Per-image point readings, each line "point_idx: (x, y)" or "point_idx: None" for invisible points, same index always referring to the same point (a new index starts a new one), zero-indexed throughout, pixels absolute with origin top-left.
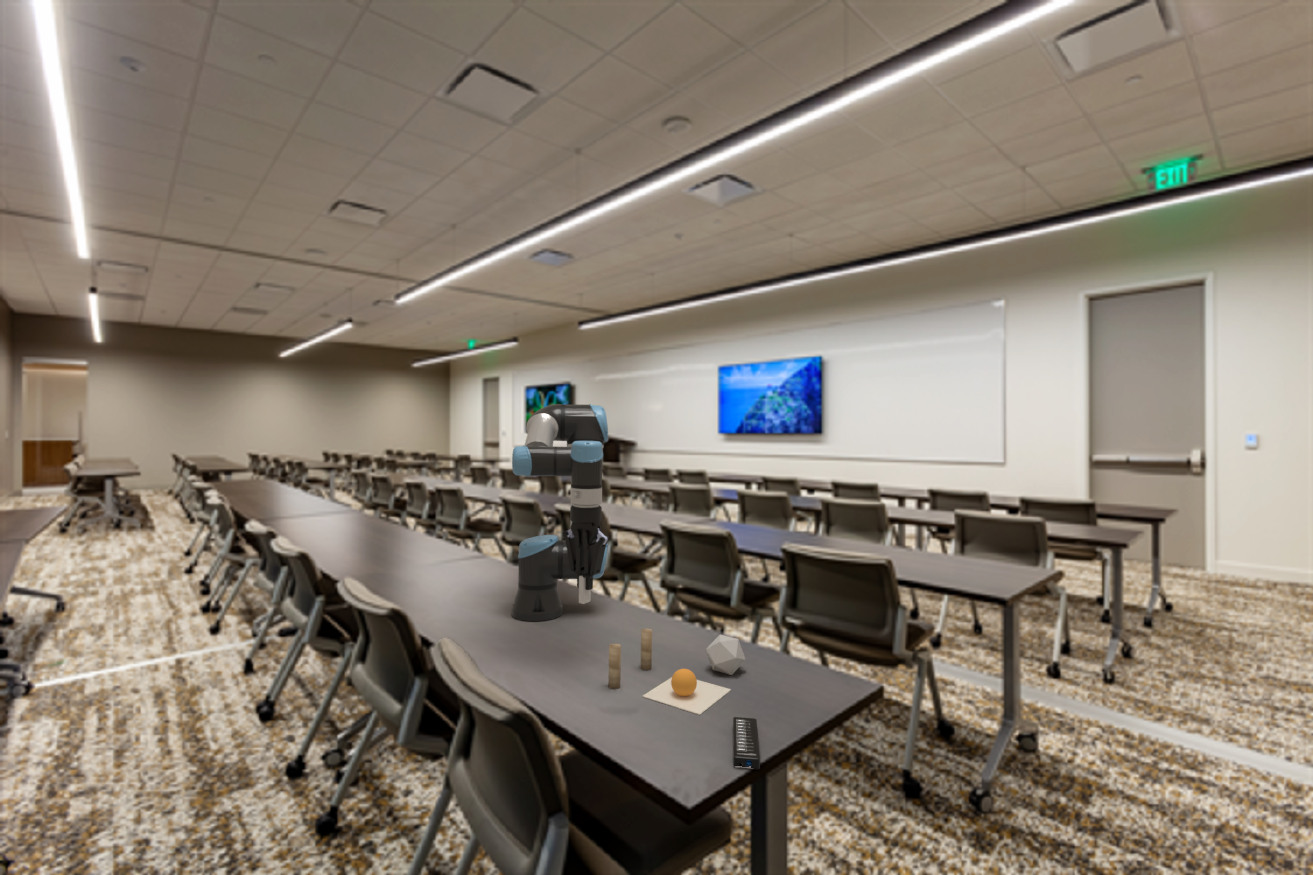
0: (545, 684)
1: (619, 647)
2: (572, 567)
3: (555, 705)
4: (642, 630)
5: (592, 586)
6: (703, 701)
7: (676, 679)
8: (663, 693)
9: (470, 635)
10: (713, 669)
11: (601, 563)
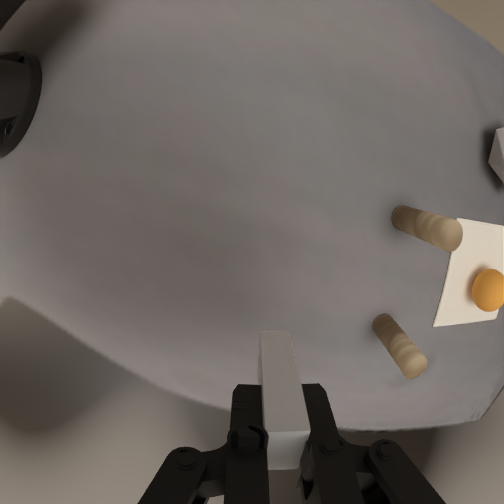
0: None
1: (425, 366)
2: (195, 499)
3: None
4: (443, 243)
5: (325, 395)
6: None
7: (488, 311)
8: (456, 299)
9: (6, 274)
10: (490, 165)
11: (430, 491)
